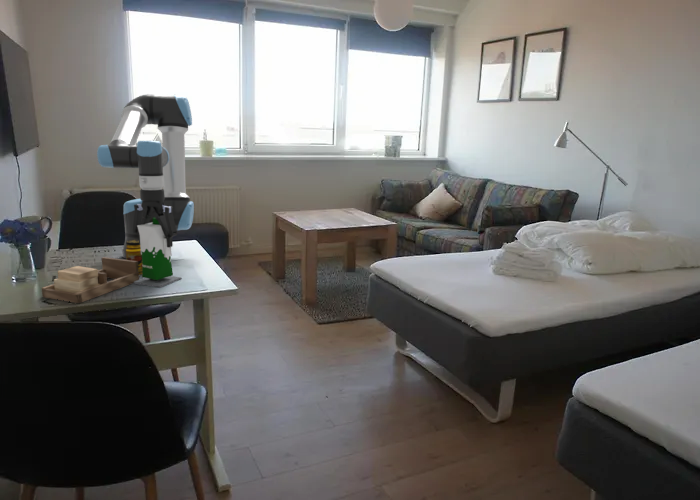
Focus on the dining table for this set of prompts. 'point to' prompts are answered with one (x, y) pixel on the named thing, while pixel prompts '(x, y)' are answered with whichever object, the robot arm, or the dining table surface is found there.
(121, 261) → the tray
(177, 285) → the dining table surface
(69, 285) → the offcut stack
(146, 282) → the mat
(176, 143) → the robot arm
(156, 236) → the soya milk
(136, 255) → the condiment
